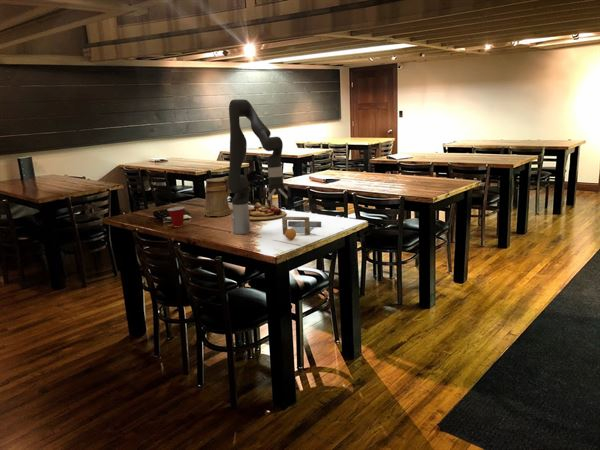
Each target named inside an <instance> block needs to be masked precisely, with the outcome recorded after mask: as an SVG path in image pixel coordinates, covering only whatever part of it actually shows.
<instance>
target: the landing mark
mask: <svg viewBox="0 0 600 450" xmlns="http://www.w3.org/2000/svg"><path fill="white" fill-rule="evenodd" d="M314 228H315V227H310V233H311V231H313V230H314ZM291 229H294V230H295V231H296V234H305V227H291Z"/></svg>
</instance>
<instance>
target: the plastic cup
mask: <svg viewBox="0 0 600 450" xmlns="http://www.w3.org/2000/svg"><path fill="white" fill-rule="evenodd" d="M167 212H168V214H169V216H170V220H171V223H172V225H173V227H174V226H181V225H183V226H184V217H185V215H184V213H185V206H175V207H171V208H168V209H167Z"/></svg>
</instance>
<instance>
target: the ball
mask: <svg viewBox="0 0 600 450" xmlns="http://www.w3.org/2000/svg"><path fill="white" fill-rule="evenodd" d="M291 228H292V227H291ZM291 228H290V227H289V228H288V229H287V230H286V232H285V235H284V236H285V238H286V239H288V240H294V239H295V238H296V237H297V233H296V231H295V230H294V229H291Z"/></svg>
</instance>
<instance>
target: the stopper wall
mask: <svg viewBox="0 0 600 450" xmlns="http://www.w3.org/2000/svg"><path fill="white" fill-rule="evenodd" d="M309 222H310V227H314V228H322V221H311V220H309ZM287 226H288V228H290V227H291V228H293V227H305V220H287Z"/></svg>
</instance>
